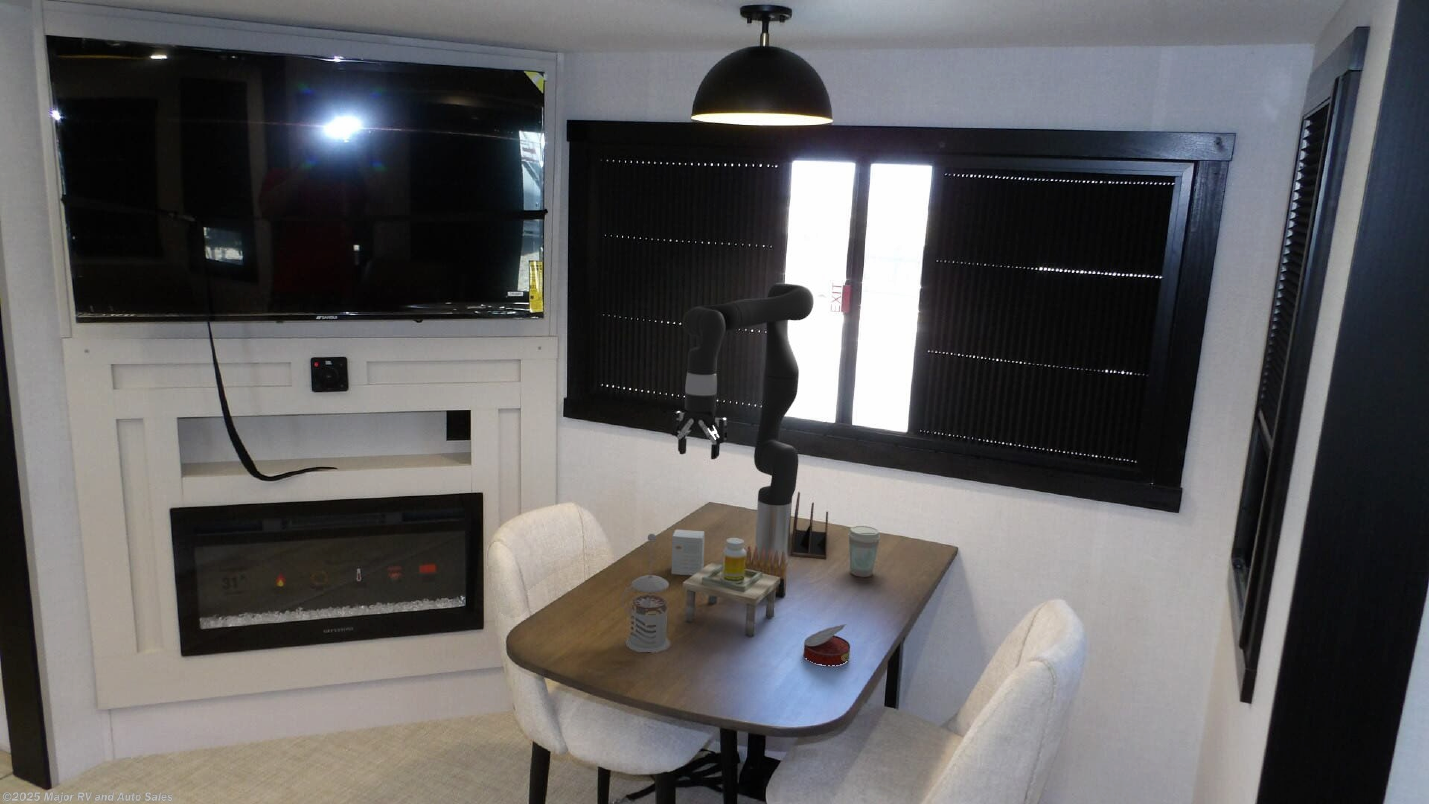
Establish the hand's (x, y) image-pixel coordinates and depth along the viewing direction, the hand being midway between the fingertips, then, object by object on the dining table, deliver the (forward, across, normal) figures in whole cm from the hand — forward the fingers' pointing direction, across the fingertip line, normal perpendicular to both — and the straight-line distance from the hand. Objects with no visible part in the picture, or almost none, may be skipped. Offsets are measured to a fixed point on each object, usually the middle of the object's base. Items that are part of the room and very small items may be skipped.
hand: (698, 456), depth 236 cm
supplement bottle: (+25, -16, +12) cm, 32 cm away
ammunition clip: (+34, -17, -6) cm, 39 cm away
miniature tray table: (+34, -16, +12) cm, 40 cm away
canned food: (+34, -42, +19) cm, 58 cm away
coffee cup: (+34, -34, -33) cm, 58 cm away
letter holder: (+34, -15, -46) cm, 59 cm away
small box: (+34, +6, -9) cm, 36 cm away
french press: (+34, -5, +33) cm, 48 cm away
